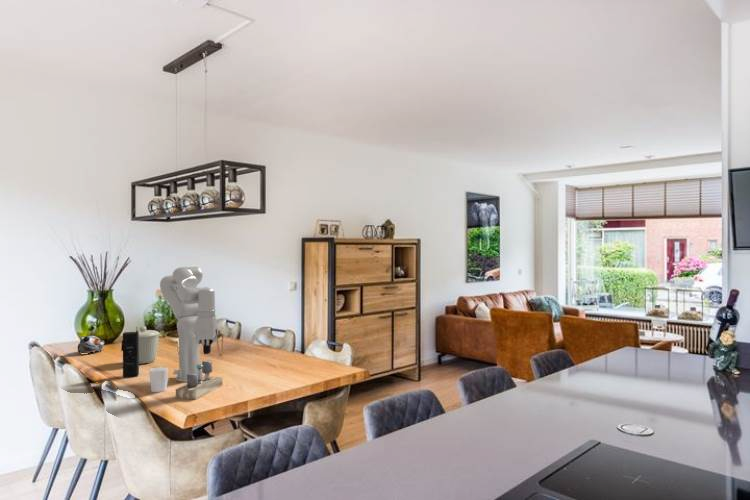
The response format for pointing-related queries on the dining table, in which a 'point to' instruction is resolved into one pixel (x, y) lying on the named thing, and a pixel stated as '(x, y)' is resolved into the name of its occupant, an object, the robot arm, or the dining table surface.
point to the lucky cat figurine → (90, 344)
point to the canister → (147, 345)
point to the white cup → (159, 379)
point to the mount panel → (199, 388)
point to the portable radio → (130, 354)
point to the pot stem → (200, 373)
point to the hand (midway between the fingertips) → (207, 353)
